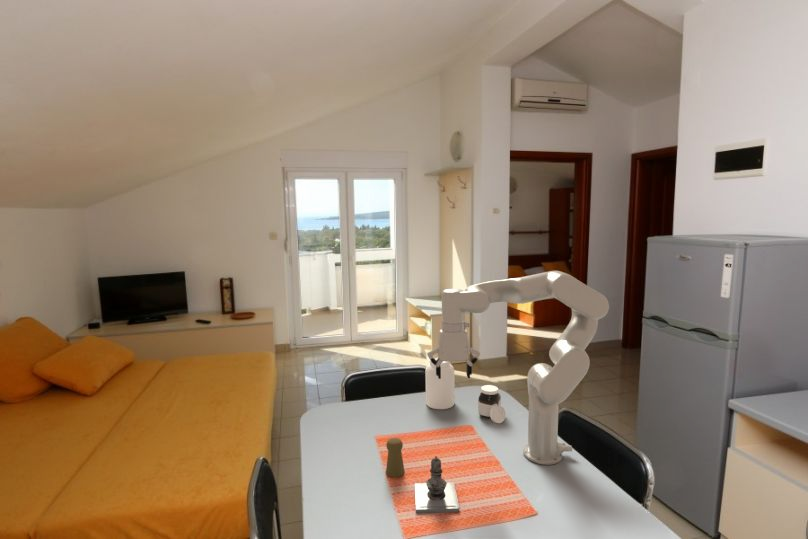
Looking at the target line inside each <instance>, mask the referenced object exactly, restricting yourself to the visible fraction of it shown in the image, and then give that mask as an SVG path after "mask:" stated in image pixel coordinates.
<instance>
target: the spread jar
mask: <svg viewBox="0 0 808 539" xmlns="http://www.w3.org/2000/svg"><path fill="white" fill-rule="evenodd" d="M480 389H481V390H480V393H479V395H478V401H477V409H478V410H477V411H478V415H479V416H480V417H482V418H483V419H485V420H491V421H492V422H493V423H496V424H501V423H503V422H504V421H505V419H506V416H507V413H506V410H505V408H504V407H503V405H502V396H501V394H500V393H499V388H498V387H497V386H495V385H493V384H486V385H482V386H481V388H480Z"/></svg>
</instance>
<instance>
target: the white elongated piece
mask: <svg viewBox="0 0 808 539" xmlns="http://www.w3.org/2000/svg"><path fill="white" fill-rule="evenodd" d="M433 358H434V359H435V360H437V359H438V358H439V357H438V356H436V357H433ZM440 367H441V378H440V379H439V378H438V376H436V366H435V365H434V364H433V363H432V362H431V360H430V359H429V363H428V364H427V365H426V368H425V373H424V374H425V403H426V406H427V407H428V408H431V409H433V410H448V409H451V408H452V407H454V405H455V402H456V401H455V400H456V399H455V398H456V396H455V385H456V384H455V368H454V366H453V364H451V362H444V361H443V362H442V363H441V364H440Z"/></svg>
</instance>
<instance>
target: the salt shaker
mask: <svg viewBox="0 0 808 539" xmlns="http://www.w3.org/2000/svg"><path fill="white" fill-rule="evenodd" d="M429 473H430V477H429V479H428V480H426V482H425V483H426V485H427V487H428V490H429V492H428V493H427V496H428V497H429V498H430V499H432V500H435V501H438V500H442V499H444V498H445V496H446V494H445V492H444V490H445V487H446V483H447V481H446V480H445V479H444V478H443V477H442V473H443V469H442V461H441V459H440V458H438V456H437V455H435V456H434V458H432V459H431V461H430V469H429Z"/></svg>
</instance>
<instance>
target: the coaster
mask: <svg viewBox="0 0 808 539" xmlns="http://www.w3.org/2000/svg"><path fill="white" fill-rule="evenodd" d="M455 486H456V485H455V482H446V487H445V490H444V492H445V494H446V496H445V498H444V499H442V500H438V501H435V500H432V499H430V498H429V497H428V496H427V493H428V492H429V490H428V487H427V485H426V482H425V483H414V498H415V513H416V514H421V513H422V514H424V513H427V514H429V513H431V514H432V513H459V512H460V506H459V501H458V496H457V490H456V487H455Z"/></svg>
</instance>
